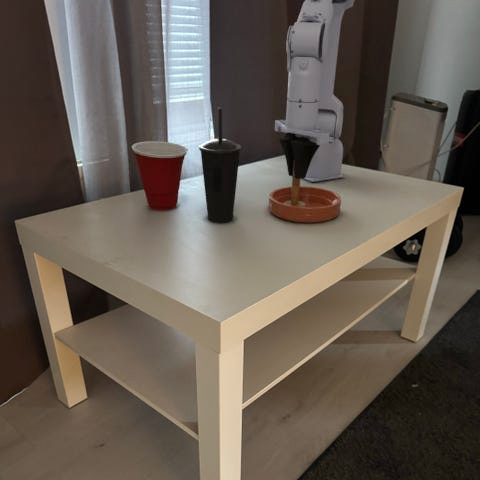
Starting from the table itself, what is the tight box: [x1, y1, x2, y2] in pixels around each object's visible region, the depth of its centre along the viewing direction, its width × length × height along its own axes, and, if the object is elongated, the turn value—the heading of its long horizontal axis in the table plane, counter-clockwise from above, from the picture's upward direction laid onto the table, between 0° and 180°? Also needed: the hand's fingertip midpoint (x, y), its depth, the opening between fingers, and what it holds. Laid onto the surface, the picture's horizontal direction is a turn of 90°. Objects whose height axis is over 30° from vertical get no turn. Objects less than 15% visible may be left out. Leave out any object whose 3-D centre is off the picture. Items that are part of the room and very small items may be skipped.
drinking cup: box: [198, 107, 242, 224], centre depth 89 cm, size 8×8×20 cm
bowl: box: [268, 185, 342, 224], centre depth 97 cm, size 14×14×3 cm
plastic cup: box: [131, 140, 188, 211], centre depth 97 cm, size 11×11×12 cm
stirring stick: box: [283, 162, 305, 207], centre depth 95 cm, size 4×4×10 cm
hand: (296, 176), depth 94 cm, fingers closed on stirring stick
